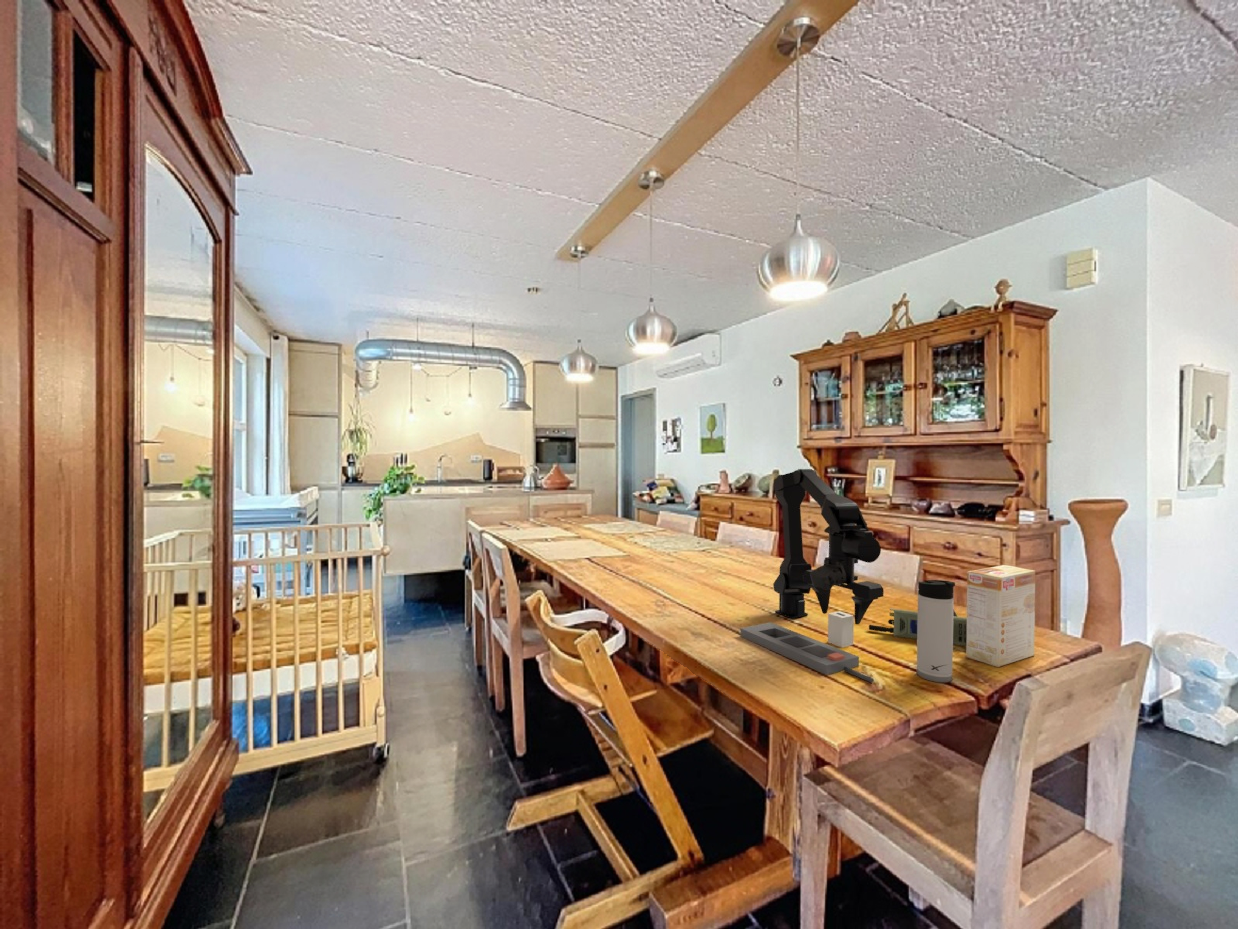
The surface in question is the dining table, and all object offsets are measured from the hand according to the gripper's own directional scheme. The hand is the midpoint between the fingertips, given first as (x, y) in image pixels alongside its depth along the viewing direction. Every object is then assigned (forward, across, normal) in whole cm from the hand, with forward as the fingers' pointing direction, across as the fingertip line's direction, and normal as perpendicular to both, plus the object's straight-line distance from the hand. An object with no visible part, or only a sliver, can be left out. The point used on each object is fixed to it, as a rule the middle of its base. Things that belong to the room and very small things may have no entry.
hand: (840, 618), depth 126 cm
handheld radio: (+6, +8, +21) cm, 23 cm away
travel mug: (+6, +22, +1) cm, 23 cm away
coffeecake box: (+6, +23, +25) cm, 34 cm away
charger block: (+6, 0, 0) cm, 6 cm away
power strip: (+6, +2, -13) cm, 14 cm away
